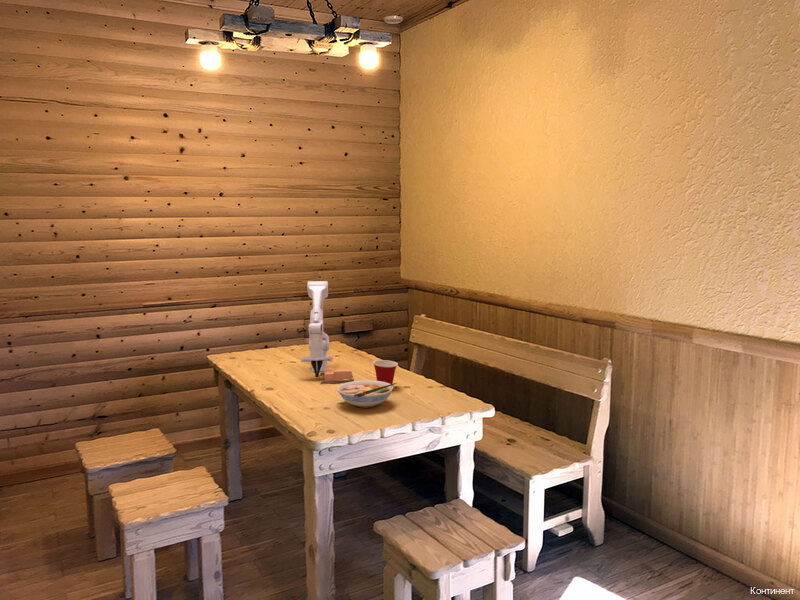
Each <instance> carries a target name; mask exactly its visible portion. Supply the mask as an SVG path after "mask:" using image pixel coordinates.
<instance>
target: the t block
mask: <svg viewBox="0 0 800 600" xmlns="http://www.w3.org/2000/svg"><path fill="white" fill-rule="evenodd" d="M333 368H334V367H328V368H324V371H323V372H324V375H323V376H324V378H323V379H324V381H334V380H343V379H350V380H351V372H352V370H351V369H350V368H345V369H343V368H342V369H340V368H339V369H333Z"/></svg>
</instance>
